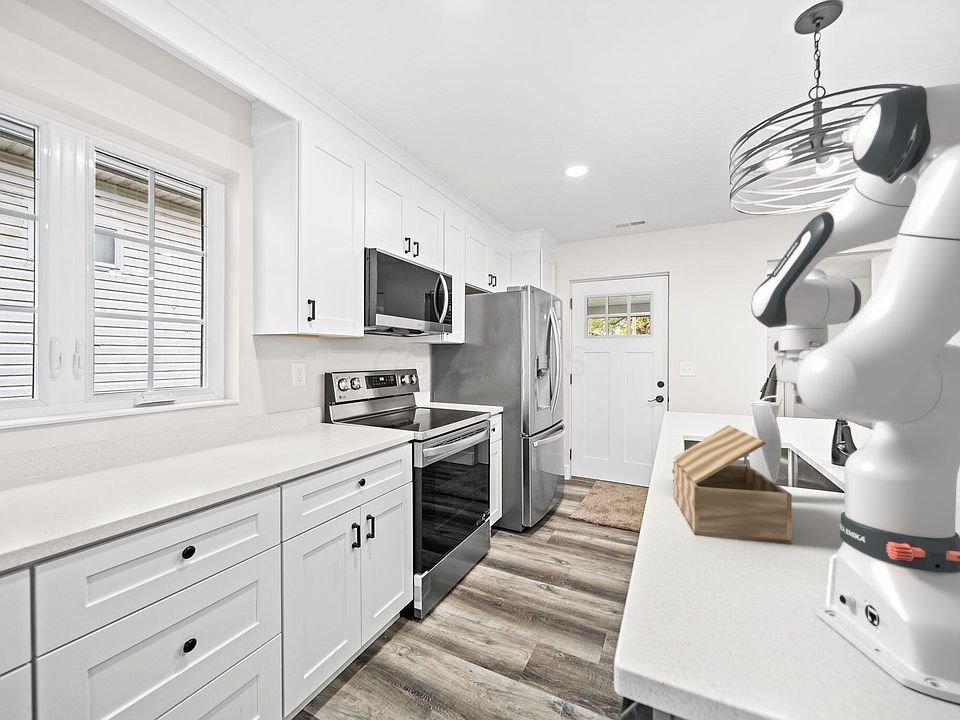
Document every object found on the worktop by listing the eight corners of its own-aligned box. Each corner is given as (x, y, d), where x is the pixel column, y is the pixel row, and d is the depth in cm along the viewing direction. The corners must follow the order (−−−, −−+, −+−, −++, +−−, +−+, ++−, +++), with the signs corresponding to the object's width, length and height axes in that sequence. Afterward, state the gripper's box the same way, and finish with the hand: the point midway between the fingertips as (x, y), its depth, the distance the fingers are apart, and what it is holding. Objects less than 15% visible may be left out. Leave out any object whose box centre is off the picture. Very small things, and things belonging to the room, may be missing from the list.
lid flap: (766, 443, 90) (764, 441, 90) (695, 484, 93) (694, 481, 93) (729, 427, 114) (728, 425, 114) (675, 459, 117) (673, 457, 117)
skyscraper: (773, 495, 122) (773, 394, 123) (788, 504, 114) (788, 396, 115) (740, 493, 124) (740, 394, 124) (753, 502, 116) (753, 396, 116)
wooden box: (791, 544, 88) (791, 494, 88) (694, 534, 92) (694, 487, 92) (748, 504, 113) (748, 465, 113) (673, 498, 118) (673, 461, 118)
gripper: (844, 340, 88) (844, 409, 88) (799, 345, 108) (799, 401, 108) (808, 340, 90) (808, 408, 90) (770, 345, 109) (770, 400, 109)
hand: (803, 404), depth 99 cm, fingers open, 2 cm apart
